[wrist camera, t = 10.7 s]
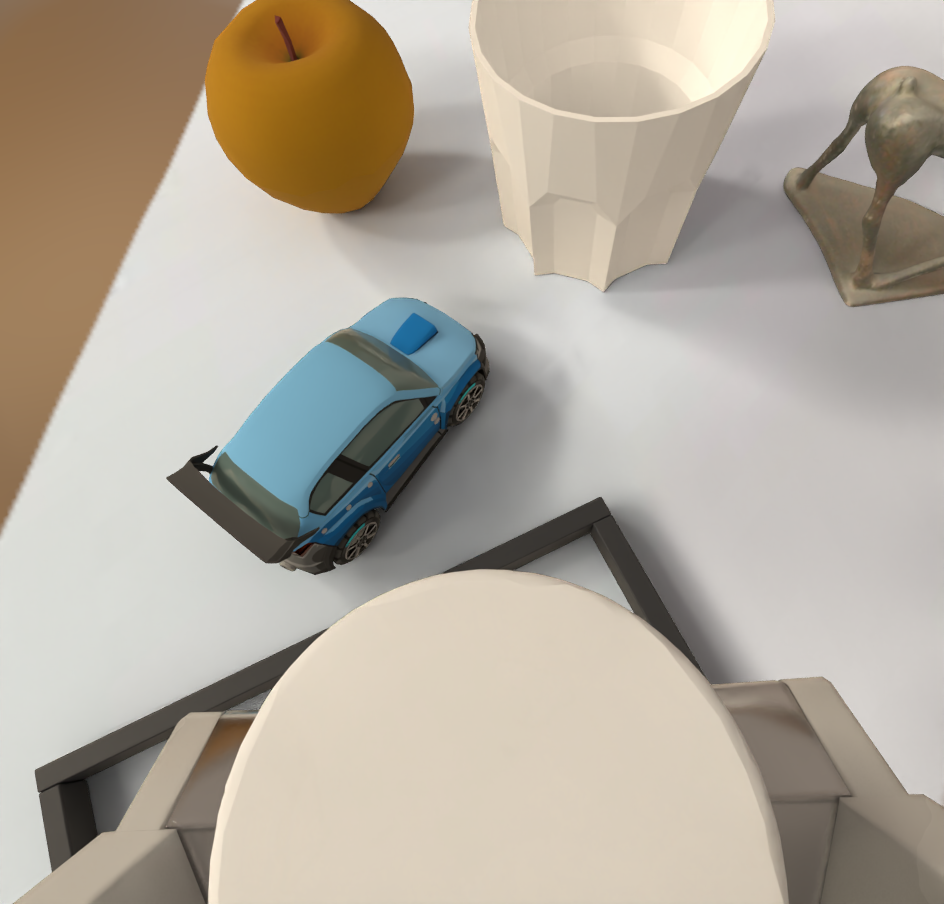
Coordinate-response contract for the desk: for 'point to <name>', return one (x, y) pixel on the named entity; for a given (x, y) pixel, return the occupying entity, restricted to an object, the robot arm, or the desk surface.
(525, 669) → the pill bottle
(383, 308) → the toy car
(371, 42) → the apple
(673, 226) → the cup
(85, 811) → the rack
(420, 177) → the desk surface
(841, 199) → the figurine
